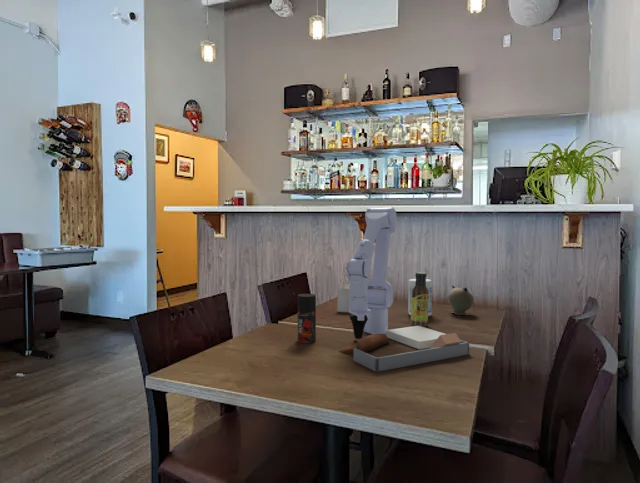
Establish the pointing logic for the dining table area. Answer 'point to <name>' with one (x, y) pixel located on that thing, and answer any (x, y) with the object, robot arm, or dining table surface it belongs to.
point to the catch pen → (410, 357)
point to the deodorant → (306, 318)
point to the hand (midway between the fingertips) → (358, 338)
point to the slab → (414, 336)
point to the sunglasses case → (365, 344)
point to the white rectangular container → (343, 300)
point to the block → (446, 340)
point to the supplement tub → (410, 288)
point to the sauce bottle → (420, 301)
